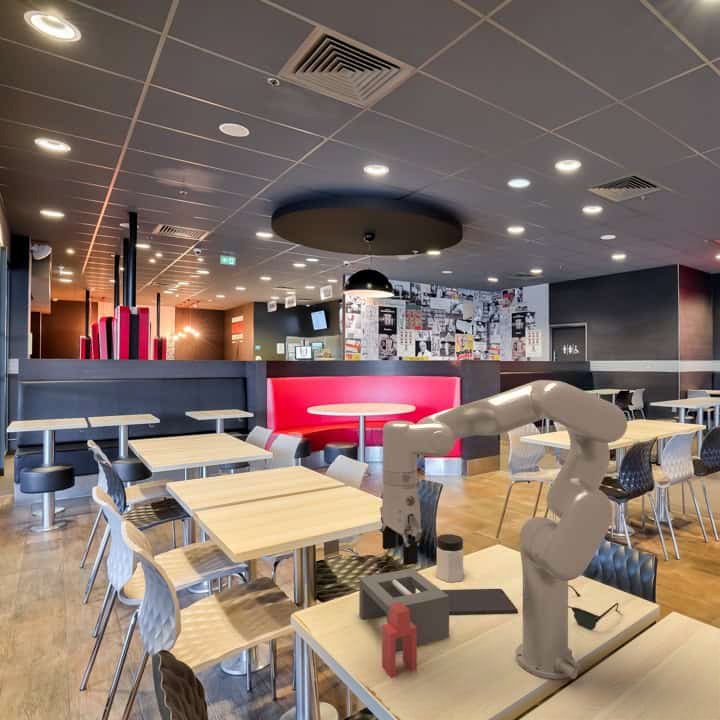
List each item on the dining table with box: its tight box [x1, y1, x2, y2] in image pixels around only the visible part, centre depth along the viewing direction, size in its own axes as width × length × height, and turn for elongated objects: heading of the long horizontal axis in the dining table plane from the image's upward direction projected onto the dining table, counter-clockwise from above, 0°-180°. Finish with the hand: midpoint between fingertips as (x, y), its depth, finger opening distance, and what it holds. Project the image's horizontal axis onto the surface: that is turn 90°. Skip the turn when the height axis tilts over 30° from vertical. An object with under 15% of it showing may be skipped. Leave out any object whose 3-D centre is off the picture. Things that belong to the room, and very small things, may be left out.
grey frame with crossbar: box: [358, 568, 450, 652], centre depth 124 cm, size 18×16×10 cm
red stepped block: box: [381, 602, 418, 678], centre depth 107 cm, size 4×6×13 cm, turn 114°
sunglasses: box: [568, 584, 619, 631], centre depth 132 cm, size 16×17×5 cm
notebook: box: [441, 588, 519, 616], centre depth 136 cm, size 13×2×21 cm
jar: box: [436, 533, 464, 583], centre depth 154 cm, size 9×8×12 cm
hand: (399, 555), depth 107 cm, fingers open, 9 cm apart
